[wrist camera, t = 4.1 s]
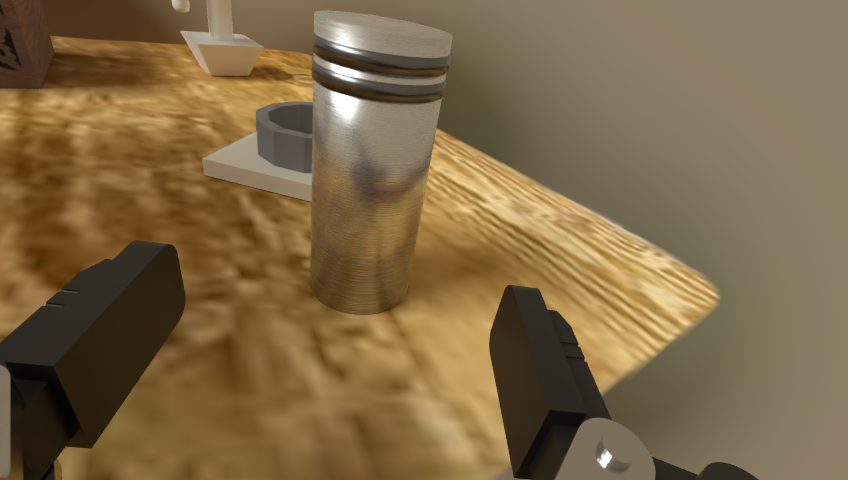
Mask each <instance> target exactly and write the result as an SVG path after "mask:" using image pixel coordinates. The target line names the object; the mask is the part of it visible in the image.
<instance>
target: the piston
mask: <svg viewBox="0 0 848 480" xmlns="http://www.w3.org/2000/svg"><path fill="white" fill-rule="evenodd" d="M314 16H315V17H314V30H313V33H312V51H313V52H314V56H313V57H312V78H313V137H312V198H311V260H310V285H311V289H312V291H313V293H314V294H315V296H316V297H317V298H318V299H319V300H320V301H321V302H322V303H324V304H325V305H327V306H329V307H331V308H333V309H335V310H338V311H341V312H345V313H350V314H362V315H363V314H374V313H379V312H383V311H386V310H389V309H391V308H393V307H394V306H396V305H397V304H399V303H400V302H401V301H402V300H403V298H404V297H405V295H406V293H407V290H408V284H409V279H410V273H411V268H412V262H413V256H414V251H415V245H416V240H417V234H418V228H419V223H420V217H421V212H422V206H423V200H424V195H425V189H426V184H427V178H428V172H429V167H430V161H431V155H432V150H433V144H434V139H435V133H436V127H437V121H438V116H439V111H440V105H441V99H442V97H443V96H444V91H445V86H446V73H447V72H448V69H449V64H450V58H451V53H450V49H451V43H452V38H453V37H452V35H451V34H449V33H447V32H445V31H442V30H439V29H435V28H432V27H428V26H425V25H420V24H416V23H412V22H407V21H402V20H397V19H392V18H386V17H380V16H374V15H367V14H359V13H351V12H342V11H317V12H315V15H314Z"/></svg>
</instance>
